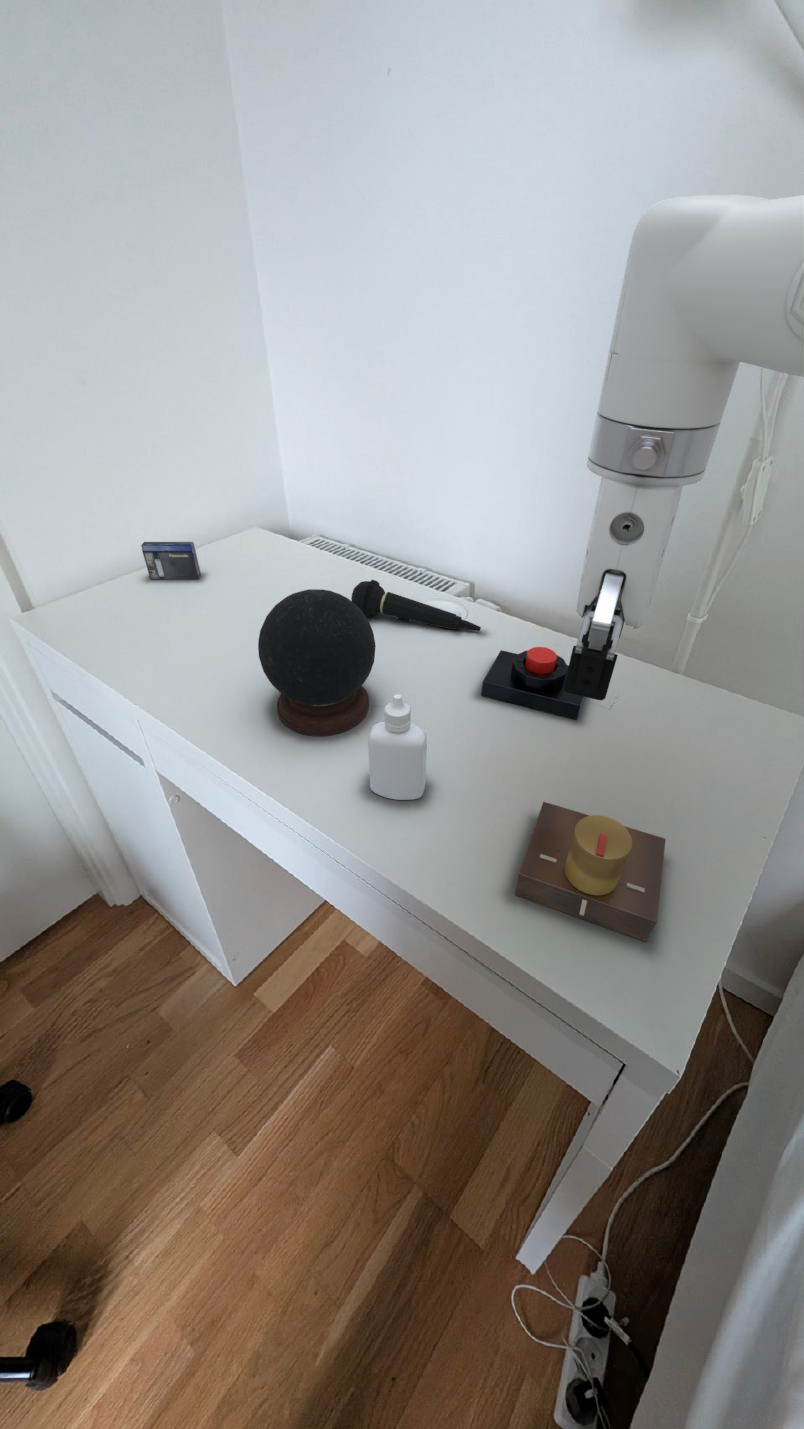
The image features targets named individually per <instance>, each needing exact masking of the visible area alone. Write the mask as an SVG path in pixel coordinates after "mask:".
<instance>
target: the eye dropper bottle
mask: <svg viewBox="0 0 804 1429" xmlns="http://www.w3.org/2000/svg"><path fill="white" fill-rule="evenodd" d="M411 715H412V710H411V706H410V704H408V703H407V702H405V701H403V697H402V695H401V694H394V695H393V698H392V701H390V702H388V703H387V704H386V705H385V706H384V721H380V722H377V723H375V724H373V725H372V727H370V731H369V734H368V740H367V741H368V744H367V745H368V767H369V771H368V772H369V787H370V790H371V791H372V792H373V793H374V794H376V795H378V796H380V797H384V798H387V799H389V800H390V799H391V800H396V801H413V800H418V799H421V798H422V796H423V794H424V792H425V787H426V780H427V779H426V776H427V753H428V752H427V750H428V749H427V748H428V736H427V732H426V731H425V730H424V729H423V728H421V727H420V726H418V725H416V724H414V723H412V722H411V719H412V718H411Z"/></svg>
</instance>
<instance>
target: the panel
mask: <svg viewBox="0 0 804 1429" xmlns="http://www.w3.org/2000/svg"><path fill="white" fill-rule="evenodd" d="M587 816H590V815H589V814H587V813H586V814H585V813H583V812H581V811H577V810H573V809H569V808H567V807H563V806H560V805H556V804H553V803H550V802H547V801H542V804H541V807H540V810H539V813H538V816H537V819H536V822H535V825H534V827H533V831H532V834H531V837H530V839H529V843H528V846H527V848H526V852H525V854H524V858H523V861H522V864H521V867H520V870H519V873H518V877H517V880H516V886H515V891H514V895H515V896H517V897H520V898H523V899H526V900H528V901H531V902H533V903H536V904H539V905H542V906H545V907H548V908H551V909H552V910H556V911H559V912H561V913H564V914H568V915H570V916H573V917H576V918H578V919H581V920H584V921H586V922H589V923H592V924H594V925H597V926H600V927H602V928H606V929H609V930H612V931H614V932H617V933H620V934H623V935H625V936H628V937H630V938H634V939H636V940H639V941H642V942H645V943H647V942H648V940H649V938H650V936H651V935H652V932H653V930H654V928H655V926H656V924H657V923H658V914H659V906H660V905H659V904H660V894H661V887H662V876H663V866H664V858H665V850H666V849H665V848H666V840H667V839H666V838H665V837H661V836H658V835H654V834H653V833H652V834H651V833H648V832H645V831H641V830H639V829H635V828H633V827H629V826H625V825H623V826H624V827H625V828H626V829H627V830H628V832H629V833H630V835H631V838H632V849H631V851H630V854H629V856H628V859H627V861H626V864H625V866H624V869H623V871H622V874H621V876H620V879H619V881H618V884H617V886H616V888H615V889H614V890H613V891H611V892H610V893H608V894H605V895H590V894H586V893H584V892H582V891H580V890H578V889H577V888H575V887H574V886H573V885H572V884H571V883H570V882H569V880H568V879H567V877H566V875H565V871H564V865H565V861H566V857H567V854H568V851H569V847H570V844H571V840H572V837H573V833H574V830H575V827H576V825H577V823H578V822H579V821H580V820H581V819H583V818H585V817H587Z"/></svg>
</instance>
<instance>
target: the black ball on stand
mask: <svg viewBox="0 0 804 1429" xmlns="http://www.w3.org/2000/svg"><path fill="white" fill-rule="evenodd" d="M257 643H258V644H257V649H258V650H257V651H258V660H259V662H260V665H261V668H262V670H263V673H264V675H265V677H266V679H267V680H268V681H269V682H270V684H271V685H272V687H274V688H275V689H276V690H277V692H279V693H280V695H279V697H278V699H277V701H276V711H277V716H278V718H279V720H280V722H281V723H282V725H283V726H285V727H286V728H287V729H288V730H290V731H292V732H294V733H297V734H300V735H303V736H311V737H327V736H334V735H339V734H341V733H345V732H348V731H350V730H351V729H353V728H355V727H357V726H358V725H359V724H360V723H361V722H362V721H364V719H365V718H366V717H367V715H368V712H369V710H370V698H369V694H368V692H367V690H366V688H365V687H364V686H363V685H364V684H365V682H366V681H367V679H368V678H369V676H370V674H371V672H372V669H373V666H374V663H375V657H376V640H375V634H374V630H373V628H372V625H371V623H370V621H369V619H368V617H366V616H365V615H364V613H363V612H362V611H361V609H360V608H359V607H358V606H356V605H355V604H354V603H353V602H352V601H351V599H349V598H348V597H346V596H344V595H343V594H340V593H337V592H335V591H332V590H330V589H329V590H328V589H314V588H313V589H304V590H301V591H298V592H294V593H291V594H289V595H287V596H286V597H284V598H282V600H280V601H279V602H278V603H276V604H275V605H274V606H273V608H272V609H271V610H270V611H269V612H268V614H267V615H266V617H265V619H264V621H263V623H262V626H261V628H260V630H259V634H258V641H257Z"/></svg>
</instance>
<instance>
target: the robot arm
mask: <svg viewBox="0 0 804 1429" xmlns="http://www.w3.org/2000/svg"><path fill="white" fill-rule="evenodd" d="M606 360H607V361H606V366H605V370H604V375H603V381H602V386H601V390H600V396H599V400H598V406H597V411H596V415H595V419H594V425H593V430H592V435H591V441H590V444H589V449H588V455H587V459H586V467H587V468H588V470H589V471H590V472H591V473H594V474H595V475H597V476H599V477H600V483H599V487H598V491H597V497H596V502H595V506H594V510H593V515H592V520H591V524H590V530H589V533H588V534H589V535H588V539H587V544H586V550H585V555H584V560H583V568H582V571H581V572H582V573H581V578H580V584H579V590H578V598H577V604H576V613H577V614H578V616H579V617H580V618H581V619H582V623H581V626H580V631H579V633H578V638H577V642H576V645H573V647H572V649H571V650H572V651H571V654H570V659H569V663H568V666H569V667H568V672H567V676H566V680H565V685H564V690H565V692H567V693H571V694H575V695H579V696H584V698H588V699H593V700H597V701H605V699H606V698H607V694H608V690H609V686H610V683H611V680H612V676H613V673H614V669H615V666H616V663H617V660H618V654H616V650H617V647H618V643H619V639H621V635H622V632H623V629H624V624H625V626H630V627H633V629H636V630H637V629H640V628H641V627H643V626H644V625H645V622H646V618H647V614H648V611H649V609H650V604H651V601H652V598H653V595H654V590H655V588H656V585H657V581H658V577H659V574H660V571H661V568H662V564H663V561H664V557H665V554H666V551H667V547H668V546H669V541H670V538H671V535H672V531H673V527H674V524H675V520H676V516H677V513H678V512H677V511H678V509H679V505H680V500H681V496H682V493H683V492H682V491H683V487H684V486H689V485H693V484H696V483H698V482H701V480H703V478H704V476H705V472H706V469H707V466H708V463H709V461H710V457H711V454H712V451H713V447H714V444H715V441H716V438H717V435H718V432H719V429H720V426H721V422H722V419H723V416H724V414H725V410H726V407H727V403H728V400H729V397H730V394H731V392H732V389H733V385H734V382H735V378H736V377H737V372H738V369H739V366H740V364H741V363H744V364H747V365H751V366H756V367H760V368H763V369H765V370H766V369H767V370H770V371H775V372H778V373H783V374H786V375H791V376H796V377H801V378H804V194H800V195H795V196H787V197H780V198H772V199H769V198H766V197H761V196H757V195H747V194H746V195H745V194H701V195H700V194H697V195H682V196H674V197H669V198H665V199H662V200H659V201H657V202H655V203H653V204H652V205H650V206H649V207H648V208H646V210H645V211H644V212H643V213H642V215H641V216H640V218H639V219H638V221H637V223H636V225H635V228H634V230H633V232H632V237H631V241H630V245H629V249H628V253H627V260H626V265H625V270H624V273H623V279H622V284H621V289H620V294H619V299H618V304H617V310H616V314H615V319H614V325H613V329H612V334H611V340H610V345H609V349H608V354H607V359H606Z"/></svg>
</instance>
